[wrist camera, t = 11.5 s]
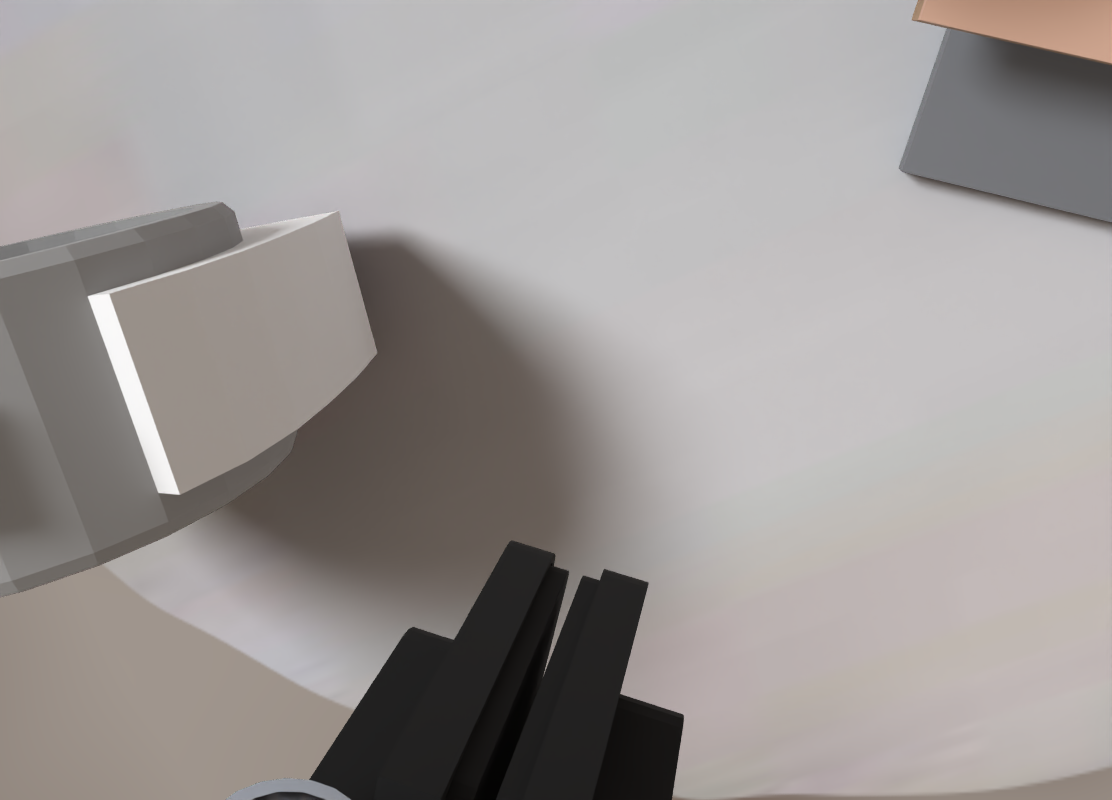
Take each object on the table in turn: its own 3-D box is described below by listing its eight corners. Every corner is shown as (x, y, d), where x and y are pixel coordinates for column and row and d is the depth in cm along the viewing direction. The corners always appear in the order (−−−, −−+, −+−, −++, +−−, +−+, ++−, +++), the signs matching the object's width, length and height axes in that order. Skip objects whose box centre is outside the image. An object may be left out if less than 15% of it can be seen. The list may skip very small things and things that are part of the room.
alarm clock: (377, 162, 38) (-14, 275, 20) (429, 366, 41) (127, 636, 22) (12, 239, 43) (-575, 386, 24) (79, 416, 45) (-409, 672, 27)
